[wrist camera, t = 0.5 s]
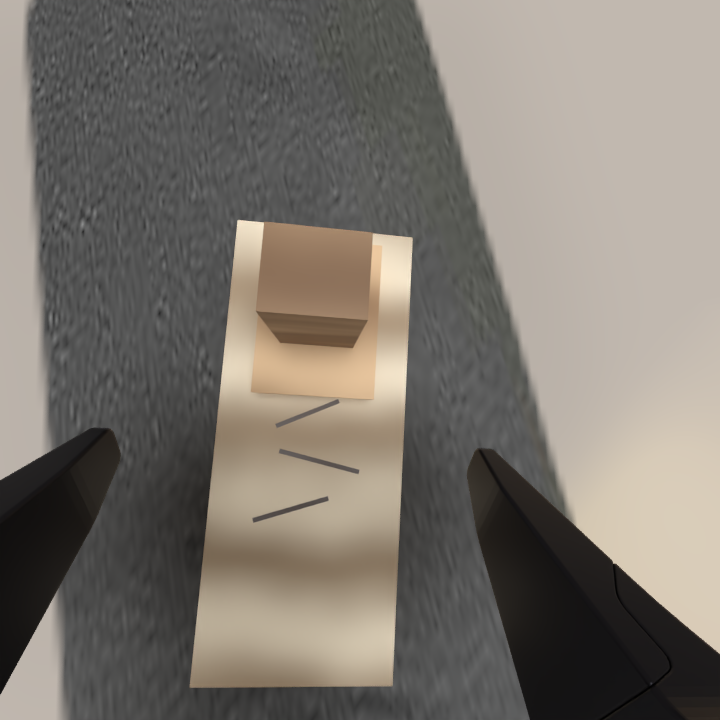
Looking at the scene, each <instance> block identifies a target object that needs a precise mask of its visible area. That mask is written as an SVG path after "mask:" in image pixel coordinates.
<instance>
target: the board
mask: <svg viewBox="0 0 720 720" xmlns="http://www.w3.org/2000/svg"><path fill="white" fill-rule="evenodd" d="M263 228H264V223H262V222H252V221H242V220H238V223H237V233H236V243H235V252H234V262H233V272H232V282H231V291H230V301H229V311H228V320H227V330H226V340H225V349H224V359H223V369H222V379H221V388H220V398H219V408H218V417H217V427H216V437H215V446H214V456H213V466H212V476H211V485H210V495H209V505H208V514H207V524H206V534H205V544H204V553H203V563H202V573H201V582H200V592H199V602H198V611H197V621H196V631H195V641H194V650H193V660H192V670H191V679H190V688H218V687H343V686H392V683H393V660H394V638H395V616H396V594H397V572H398V549H399V527H400V505H401V483H402V461H403V439H404V416H405V394H406V372H407V350H408V328H409V305H410V283H411V261H412V239H413V238H411V237H401V236H391V235H381V234H373V241H372V245H380V246H382V260H381V278H380V296H379V315H378V333H377V351H376V369H375V388H374V400H365V399H349V398H332V397H316V396H300V395H283V394H267V393H254V392H251V383H252V373H253V362H254V351H255V340H256V330H257V319H258V314H257V312H256V302H257V292H258V281H259V271H260V260H261V249H262V239H263Z"/></svg>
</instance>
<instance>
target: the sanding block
mask: <svg viewBox="0 0 720 720" xmlns="http://www.w3.org/2000/svg"><path fill="white" fill-rule="evenodd" d="M372 241H373V233H371V232H361V231H351V230H341V229H331V228H321V227H311V226H301V225H292V224H282V223H272V222H264V228H263V239H262V249H261V260H260V271H259V281H258V292H257V302H256V312H257V314H258V319H257V330H256V340H255V351H254V362H253V373H252V383H251V392H254V393H267V394H283V395H300V396H316V397H332V398H349V399H365V400H374V388H375V369H376V351H377V333H378V315H379V296H380V278H381V260H382V246H380V245H372Z"/></svg>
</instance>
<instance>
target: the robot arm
mask: <svg viewBox="0 0 720 720" xmlns="http://www.w3.org/2000/svg"><path fill="white" fill-rule="evenodd" d="M120 457H121V453H120V449H119V446H118V444H117V441H116V438H115V435H114V432H113V431H112V430H111V429H109V428H91V429H88V430H86V431H85V432H83V433H81V434H80V435H78V436H76V437H74V438H73V439H71V440H69V441H67V442H66V443H64V444H62V445H61V446H59V447H57V448H55V449H54V450H52V451H50V452H48V453H47V454H45V455H43V456H41V457H40V458H38V459H36V460H35V461H33V462H31V463H30V464H28V465H26V466H24V467H22V468H21V469H19V470H17V471H16V472H14V473H12V474H10V475H9V476H7V477H5V478H3V479H2V480H0V694H1V693H2V691H3V689H4V687H5V685H6V683H7V682H8V679H9V678H10V676H11V674H12V672H13V670H14V669H15V667H16V665H17V663H18V661H19V660H20V658H21V656H22V654H23V652H24V650H25V649H26V647H27V645H28V643H29V641H30V639H31V638H32V636H33V634H34V632H35V630H36V628H37V626H38V625H39V623H40V621H41V619H42V617H43V616H44V614H45V612H46V610H47V608H48V606H49V605H50V603H51V601H52V599H53V597H54V595H55V594H56V592H57V590H58V588H59V586H60V584H61V583H62V581H63V579H64V577H65V575H66V573H67V572H68V570H69V568H70V566H71V564H72V562H73V561H74V559H75V557H76V555H77V553H78V551H79V550H80V548H81V546H82V544H83V542H84V540H85V539H86V537H87V535H88V533H89V531H90V529H91V527H92V525H93V523H94V521H95V519H96V517H97V515H98V513H99V510H100V508H101V505H102V503H103V501H104V498H105V496H106V493H107V491H108V488H109V486H110V484H111V481H112V479H113V476H114V474H115V472H116V469H117V467H118V464H119V462H120ZM467 480H468V485H469V491H470V497H471V503H472V508H473V514H474V520H475V526H476V531H477V535H478V539H479V543H480V547H481V550H482V554H483V557H484V561H485V564H486V568H487V571H488V575H489V578H490V582H491V585H492V589H493V592H494V596H495V599H496V603H497V606H498V610H499V613H500V617H501V620H502V624H503V627H504V631H505V634H506V638H507V641H508V645H509V648H510V652H511V655H512V658H513V662H514V665H515V669H516V672H517V676H518V679H519V683H520V686H521V690H522V693H523V697H524V700H525V704H526V707H527V711H528V714H529V718H530V720H720V654H719V653H718V652H716V651H715V650H714V649H713V648H712V647H711V646H709V645H708V644H707V643H706V642H705V641H703V640H702V639H701V638H700V637H699V636H697V635H696V634H695V633H694V632H692V631H691V630H690V629H689V628H688V627H686V626H685V625H684V624H683V623H682V622H680V621H679V620H678V619H677V618H676V617H675V616H674V615H672V614H671V613H670V612H669V611H668V610H667V609H665V608H664V607H663V606H662V605H661V604H659V603H658V602H657V601H656V600H655V599H654V598H653V597H652V596H651V595H649V594H648V593H647V592H646V591H645V590H644V589H643V588H642V587H641V586H639V585H638V584H637V583H636V582H635V581H634V580H633V579H632V578H631V577H630V576H628V575H627V574H626V573H625V572H624V571H623V570H622V569H621V568H620V567H619V566H618V565H617V564H613V561H612V560H611V559H610V558H609V557H608V556H607V555H606V554H605V553H604V552H603V551H602V550H600V549H599V548H598V547H597V546H596V545H595V544H594V543H593V542H592V541H591V540H590V539H588V537H587V536H585V535H584V534H583V533H582V532H581V531H580V530H579V529H578V528H577V527H576V526H575V525H574V524H573V523H572V522H570V521H569V520H568V519H567V518H566V517H565V516H564V515H563V514H562V513H561V512H560V511H559V510H558V509H557V508H555V507H554V506H553V505H552V504H551V503H550V502H549V501H548V500H547V499H546V498H545V497H544V496H543V495H542V494H540V493H539V492H538V491H537V490H536V489H535V488H534V487H533V486H532V485H531V484H530V483H529V482H528V481H526V480H525V479H524V478H523V477H522V476H521V475H520V474H519V473H518V472H517V471H516V470H515V469H514V468H513V467H511V466H510V465H509V464H508V463H507V462H506V461H505V460H504V459H503V458H502V457H501V456H500V455H499V454H498V453H496V452H495V451H494V450H492V449H484V448H478V449H476V450H475V452H474V454H473V457H472V459H471V462H470V465H469V467H468V470H467Z"/></svg>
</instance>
